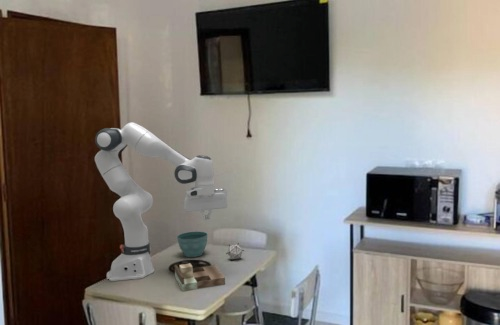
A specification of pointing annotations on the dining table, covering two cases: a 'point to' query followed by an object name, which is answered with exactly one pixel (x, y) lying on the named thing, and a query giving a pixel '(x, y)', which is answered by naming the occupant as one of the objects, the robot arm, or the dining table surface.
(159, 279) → the dining table surface
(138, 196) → the robot arm
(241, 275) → the dining table surface
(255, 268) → the dining table surface
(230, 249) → the game die
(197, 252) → the flower pot
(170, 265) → the dining table surface
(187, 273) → the maple block
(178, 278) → the box
